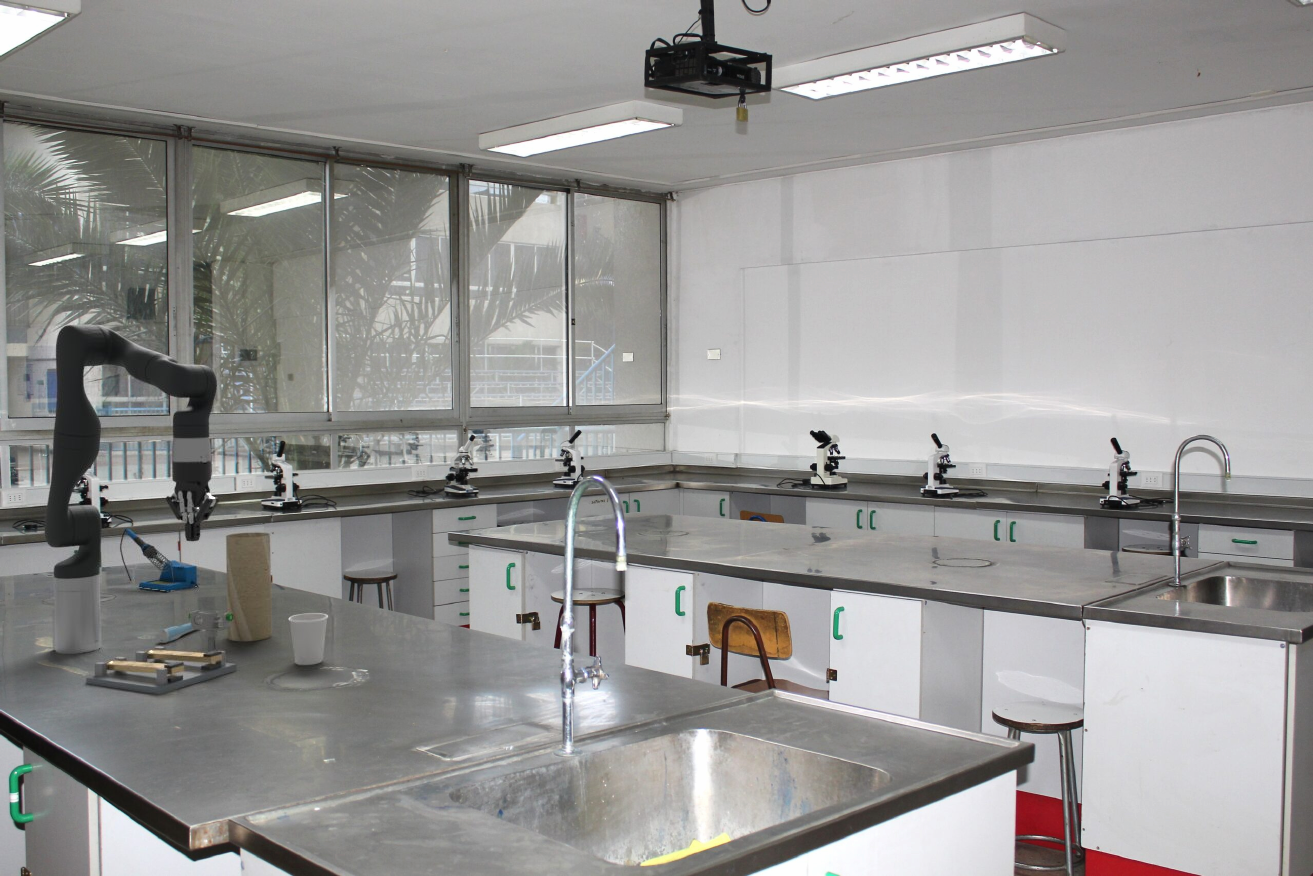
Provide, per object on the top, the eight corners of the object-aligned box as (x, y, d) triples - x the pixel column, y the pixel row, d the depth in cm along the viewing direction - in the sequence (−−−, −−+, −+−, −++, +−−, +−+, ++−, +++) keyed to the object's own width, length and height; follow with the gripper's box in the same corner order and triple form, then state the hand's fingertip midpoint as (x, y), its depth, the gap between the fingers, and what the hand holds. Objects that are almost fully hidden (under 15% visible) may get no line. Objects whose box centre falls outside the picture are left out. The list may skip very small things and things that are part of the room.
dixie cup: (316, 667, 226) (315, 621, 226) (281, 665, 228) (280, 620, 228) (335, 658, 235) (335, 613, 234) (301, 656, 236) (301, 612, 236)
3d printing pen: (165, 629, 247) (154, 632, 248) (168, 642, 247) (157, 645, 247) (206, 616, 267) (196, 619, 267) (210, 628, 266) (199, 631, 267)
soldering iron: (205, 571, 357) (204, 517, 356) (272, 578, 343) (271, 522, 342) (111, 588, 326) (110, 529, 325) (181, 596, 312) (180, 534, 311)
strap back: (142, 658, 225) (142, 650, 225) (154, 655, 228) (153, 647, 228) (210, 663, 218) (210, 654, 218) (222, 660, 220) (221, 651, 220)
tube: (236, 643, 249) (234, 538, 248) (221, 636, 256) (220, 534, 255) (278, 637, 255) (276, 535, 254) (262, 630, 263) (261, 531, 262)
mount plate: (86, 685, 213) (85, 663, 213) (166, 662, 231) (166, 642, 231) (159, 695, 205) (159, 672, 205) (236, 670, 224) (236, 650, 223)
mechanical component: (228, 658, 234) (227, 614, 234) (187, 656, 236) (186, 612, 236) (235, 655, 237) (235, 611, 237) (195, 653, 239) (194, 610, 239)
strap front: (102, 670, 216) (101, 660, 216) (114, 666, 218) (114, 657, 218) (172, 675, 208) (171, 665, 208) (184, 671, 211) (183, 662, 211)
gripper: (153, 459, 220) (155, 541, 221) (201, 460, 215) (202, 545, 216) (182, 457, 227) (183, 537, 228) (229, 459, 222) (230, 540, 223)
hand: (192, 540), depth 222 cm, fingers closed
